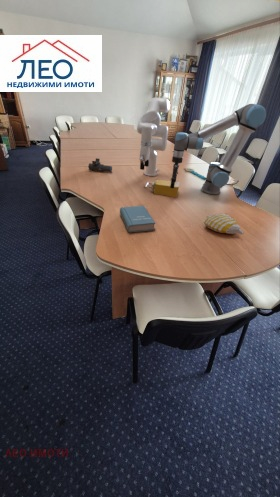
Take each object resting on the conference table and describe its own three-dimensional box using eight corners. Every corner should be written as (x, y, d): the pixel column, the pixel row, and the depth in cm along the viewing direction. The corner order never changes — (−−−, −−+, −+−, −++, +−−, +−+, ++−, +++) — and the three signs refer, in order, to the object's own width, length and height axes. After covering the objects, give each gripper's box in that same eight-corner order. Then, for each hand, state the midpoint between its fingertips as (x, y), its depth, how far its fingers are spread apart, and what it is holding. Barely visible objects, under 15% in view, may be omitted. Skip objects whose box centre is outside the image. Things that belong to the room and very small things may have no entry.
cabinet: (153, 193, 175) (154, 184, 170) (156, 189, 184) (157, 179, 179) (176, 197, 172) (178, 187, 167) (177, 192, 181) (179, 182, 176)
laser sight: (109, 174, 206) (109, 163, 200) (87, 171, 209) (86, 160, 203) (112, 171, 214) (112, 160, 208) (90, 168, 217) (90, 157, 211)
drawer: (143, 190, 176) (144, 183, 173) (146, 186, 184) (146, 179, 180) (172, 195, 173) (173, 187, 169) (173, 190, 180) (174, 183, 177)
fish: (254, 225, 128) (232, 232, 118) (249, 236, 132) (228, 244, 123) (221, 208, 144) (199, 213, 134) (217, 218, 149) (196, 224, 139)
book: (154, 230, 131) (155, 222, 128) (128, 232, 126) (128, 225, 124) (143, 212, 148) (143, 205, 145) (119, 214, 144) (120, 207, 141)
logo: (182, 168, 234) (183, 167, 234) (191, 168, 237) (191, 167, 236) (198, 179, 209) (198, 178, 208) (207, 179, 211) (207, 178, 211)
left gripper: (145, 141, 169) (143, 164, 179) (136, 145, 155) (135, 169, 166) (154, 142, 167) (152, 165, 177) (146, 146, 154) (145, 171, 164)
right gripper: (174, 152, 171) (170, 179, 183) (170, 160, 151) (166, 189, 163) (184, 153, 170) (179, 180, 182) (181, 161, 150) (176, 191, 162)
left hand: (144, 167), depth 171 cm, fingers open, 9 cm apart
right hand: (172, 184), depth 173 cm, fingers open, 13 cm apart
